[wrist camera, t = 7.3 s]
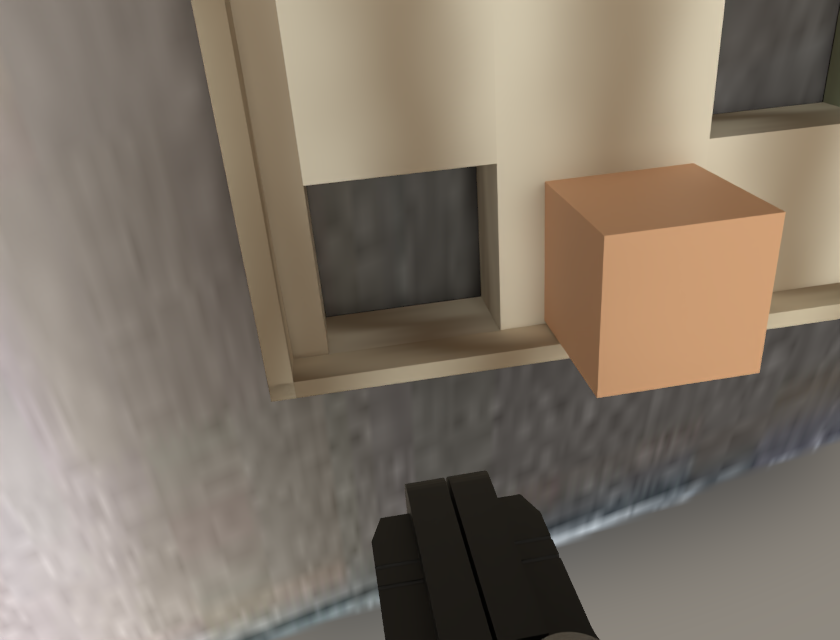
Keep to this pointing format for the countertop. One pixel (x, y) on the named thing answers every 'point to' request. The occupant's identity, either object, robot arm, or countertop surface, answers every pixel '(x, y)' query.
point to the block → (659, 276)
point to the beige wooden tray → (486, 157)
